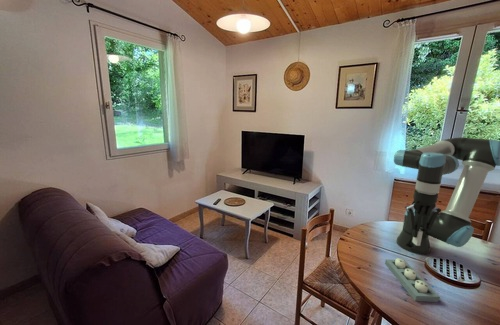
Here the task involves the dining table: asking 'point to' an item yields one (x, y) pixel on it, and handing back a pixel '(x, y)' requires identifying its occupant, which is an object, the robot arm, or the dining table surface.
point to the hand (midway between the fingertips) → (416, 243)
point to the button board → (412, 283)
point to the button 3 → (421, 286)
